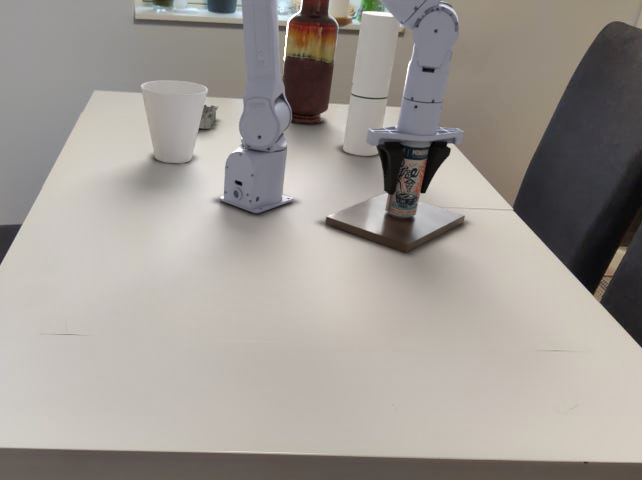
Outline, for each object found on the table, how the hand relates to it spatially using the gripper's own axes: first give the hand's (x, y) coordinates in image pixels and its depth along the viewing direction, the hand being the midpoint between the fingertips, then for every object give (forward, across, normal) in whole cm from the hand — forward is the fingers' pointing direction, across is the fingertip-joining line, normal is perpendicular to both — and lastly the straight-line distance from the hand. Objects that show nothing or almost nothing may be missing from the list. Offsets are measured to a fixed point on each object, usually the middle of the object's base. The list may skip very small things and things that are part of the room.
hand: (404, 191), depth 107 cm
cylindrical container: (+5, -10, -38) cm, 39 cm away
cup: (+5, +29, -35) cm, 46 cm away
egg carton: (+5, +19, -59) cm, 63 cm away
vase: (+5, -6, -63) cm, 64 cm away
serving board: (+5, +1, 0) cm, 5 cm away
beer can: (+4, 0, 0) cm, 4 cm away
